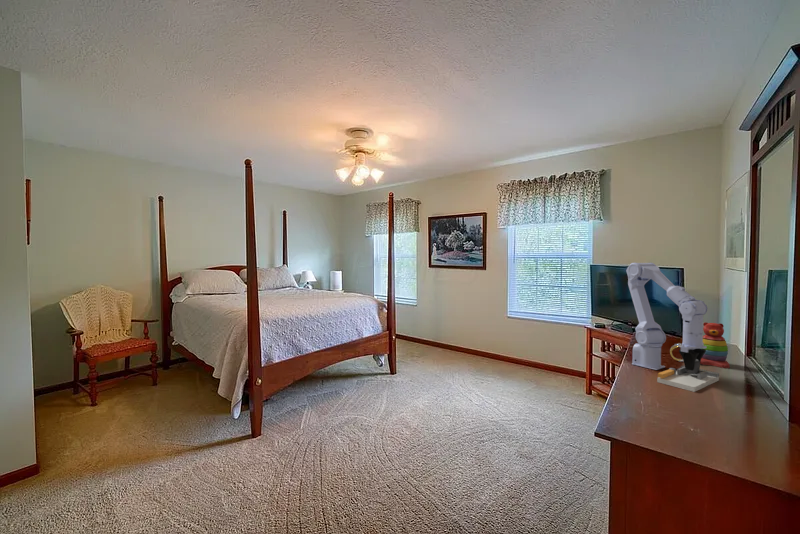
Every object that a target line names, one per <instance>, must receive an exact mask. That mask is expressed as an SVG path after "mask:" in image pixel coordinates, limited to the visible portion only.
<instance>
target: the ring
mask: <svg viewBox="0 0 800 534" xmlns="http://www.w3.org/2000/svg"><path fill="white" fill-rule="evenodd" d="M681 346H682V343H680V342H678V343H674V345H672V346H671V347H670V349H669V354H670V356H671V358H672V359H673V360H675V361H678V362H684V361H683V358H682V359H681V358H677V357H675V356H674V355H673V351H674V350H676V349H677V348H681Z"/></svg>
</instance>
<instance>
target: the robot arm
mask: <svg viewBox="0 0 800 534" xmlns="http://www.w3.org/2000/svg"><path fill="white" fill-rule="evenodd" d="M625 271H626V274H627V279H628V280H627V285H628V289H629V292H630V296H631V300H632V304H633V306H634V310H635V313H636V317H637V321H638V324H637V326H635V329H634V330H635V340H636V342H637V343H635V344H634V345H633V347H632V361H631V362H632V363H631V365H633V366H637V367H641V368H646V369H650V370H655V371H658V370H661V369H664V368H666V366H665V365H662V346H663V344H665V342H666V340H667V335H666V333H665V332H664V331H663V329H662V326H661V325H660V324H658V322H656V321H655V319H654V318H655V317H654V315H653V312H652V308H651V305H650V302H649V298H648V295H647V292H646V288H645V285H646V284H647V283H648V282H649V281H650V280H651V281H653V282H655V283H656V284H657V285H658V286H659V287H661V288H662V289H663V290H664V291H666V296H667V298H669V299H670V300H671V301H672V302H673V303H674V304H676V305H677V307H678V310H679V313H680V314H681V319H682V343H681V345H682V346H681V347H680V349H679V350H678V352H679V354H680V356H681V358H682V359H683V361H682V362H683V365H684V366H685V368H686V369H688V370H693V369H694V366H695V361H696V359H698V360H699V361H701V359H702V357H703V355H704V353H705V352H706V350H704V349H705V348H707V346H704V343H703V336H704V334H703V333H704V331H703V328H704V325H703V324H704V315H706V314H707V312H708V306H707V304H706V303H705V301H703V300H700V299H697V298H696V297H695V296H692V295H691V294H690V293H689V292H687V291H686V288H685V287H684V286H681V285H675V284H674V283H673V282H671V280H669V279H668V278H667V276H665V274H664V273H662V271H661V269H660V266H657V265H656V264H655V263H654V262H631V263H630V264H629V265H628V266H627V268H626V270H625ZM700 348H703V349H700Z"/></svg>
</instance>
